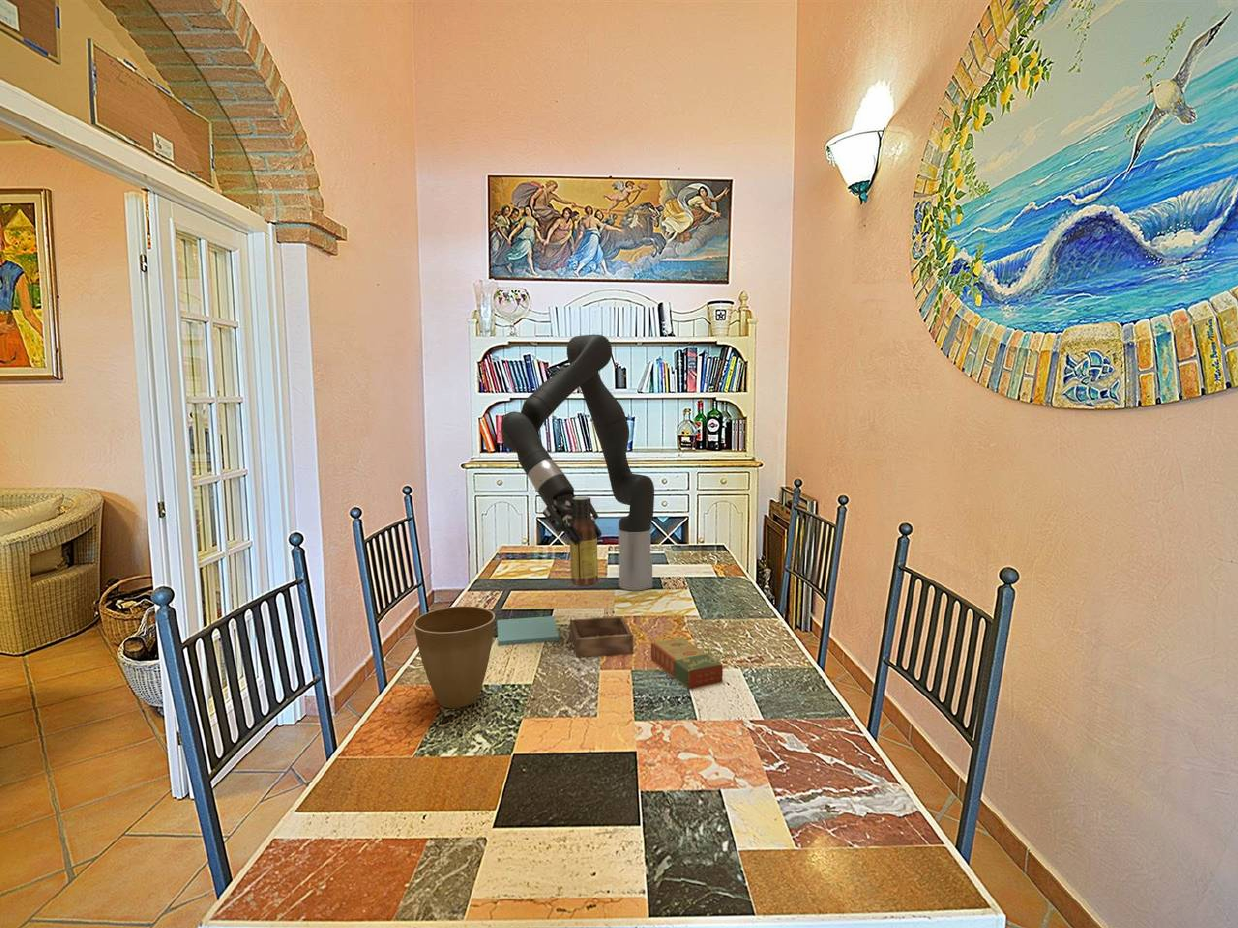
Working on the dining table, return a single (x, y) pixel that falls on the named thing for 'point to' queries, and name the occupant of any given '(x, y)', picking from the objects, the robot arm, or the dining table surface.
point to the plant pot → (455, 651)
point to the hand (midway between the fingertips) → (589, 539)
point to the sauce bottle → (584, 545)
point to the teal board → (527, 630)
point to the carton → (686, 662)
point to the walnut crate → (604, 643)
